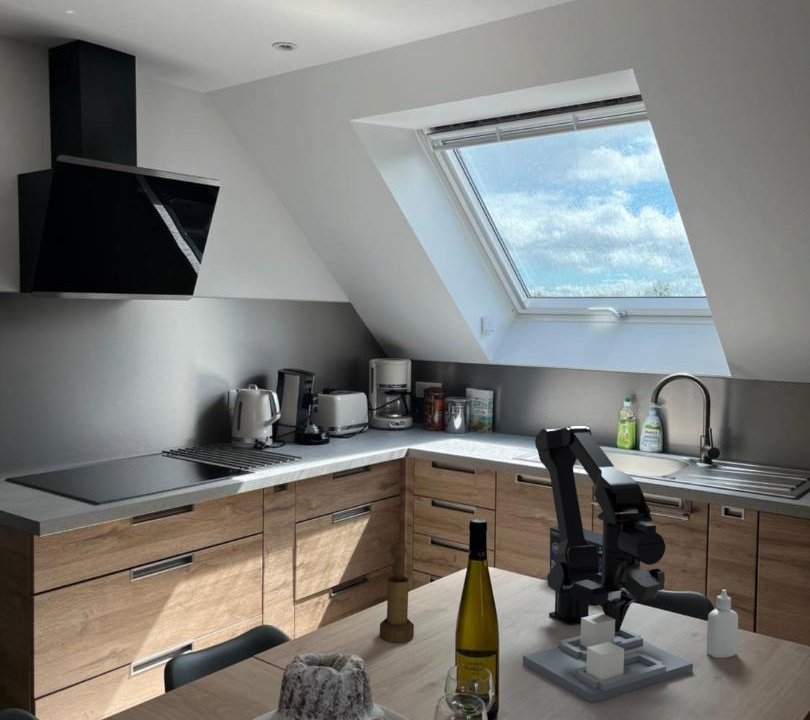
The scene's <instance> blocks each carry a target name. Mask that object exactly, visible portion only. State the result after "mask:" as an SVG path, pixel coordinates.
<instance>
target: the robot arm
mask: <svg viewBox="0 0 810 720" xmlns="http://www.w3.org/2000/svg"><path fill="white" fill-rule="evenodd" d="M534 445H535V449H536V450H537V453H538V457H539V461H540V462H541V463H542V464H543V466H544V467H545V468H546V470H547V471H548V472H549V477H550V478H549V479H550V483H551V490H552V497H553V503H554V508H555V514H556V515H555V516H556V521H557V526H558V529H559V535H560V544H559V547H558V549H557V552H556V554H555V566H554V568H553V569H552V570H551V571H550V570H549V573H548V574H547V576H546V580H547V586H548V587H549V588H550V589H551V590H553V591H554V592H555V593H554V594H555V596H554V598H555V599H554V611H552V612H551V611H550V612H549V613H548V616H549V617H551V618H553V619H556V620H558V621H560V622H561V623H563V624H567V625H568V626H574V625H577V624H581V618H583V617H587V616H590V615H589V612H590V611H589V607H592V606H593V607H597V606H600V607H601V610H602V612H603V614H604V615H606V616H609V617H611V618H613V619H615V633H616V632H619V630H620V628H622V624H623V622H624V620H625V618H626V615H627V613H628V611H629V608H630V605H632V604H633V603H634V602H636V601H638V602H645V601H647V600H649V599H650V600H654V599H655V598H656V597H657V595H658V592H660V591H663V589H665V582H666V579H665V575H666V574H665V571H664V570H663V569H662V568H660V567H659V566H658V567H654V568H651V569H650V570H649V568H643V567H642V566H641V563H643V564H644V565H649V566H650V565H654V564H655V565H656V563H659V561H660V560H662V558H663V557H664V555H665V553H666V543H665V539H664V538H663V536H662V535H661V534H660V533H658V532H657V526H656V525H655V524H653V523H652V521H653V519H652V514H651V513H652V511H651V509H650V507H649V505H648V503H647V500H646V498H645V495H644V492H643V490H642V487H641V486H640V484H639V483H638V482H637V481H636V480H635V479H634V478H633V477H632V476H630V474H627V473H625V472H624V471H621V470H619V469H618V468H616V466H615V465H614V464H613V463H612V461H611V460H610V459H609V457H608V456H607V454H606V453H605V452H604V450H603V449H602V448H601V447H600V445H599V444H598V442H597V441H596V439H595V438H594V437H593V435H592V430H591V429H590V428H589V427H587V426H585V425H576V426H574V425H573V426H572V425H570V426H567V427H564V428H542V429H541V430H540V431H539V433H537V435H536V436H535V439H534ZM577 460H578V462H579V464H580V465H581V466H582V469H583V470H584V471H585V472H586V473H587V475H588V477H589V479H591V481H592V482H593V484H594V493H593V496H594V497H595V499H596V502H597V504H598V505H599V507H600V509H601V511H602V512H600V513H599V514H598V515H597V519H598V520H600V521H602V535H603V541H602V551H600V552H597V549H596V547H595V546H594V545H592V546H590V544H589V543H588V542H587V541H586V539H585V537H584V531H583V528H584V526H583V521H582V514H581V509H580V501H579V495H578V490H577V486H576V479H575V472H574V467H575V463H576V461H577ZM649 522H650V523H649ZM598 558H601V559H602V571H601V573H600V564H599V561H598ZM598 580H600V581H602V584H597V583H598Z"/></svg>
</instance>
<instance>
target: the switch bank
mask: <svg viewBox="0 0 810 720" xmlns="http://www.w3.org/2000/svg"><path fill="white" fill-rule="evenodd" d="M641 636H642V635H641V634H638V633H636V632H634V631H631V630H629V629H627V628H625V627H621V628H620V630H619V632H616V633H615V637H614V643H613V644H615V645H617V646H619V647H621V648H623V649H624V669H623V675H620V676H617V677H614V678H610V679H607V680H604V681H600V680H598V679H597V678H595V677H593V676H591V675H589V674H587V673H586V663H587V648H586V647H584V646H582V645H580V640H581V634H580V635H578V636H573V637H568V638H565V639H561V640H559V641H558V646H554V647H552V648H551V647H550V648H548V649H544V650H540V651H537V652H531V653H528V654H524V655H522V665H524V666H526V667H527V668H529V669H531V670H532V671H535V672H536V673H538V674H540V675H541V676H543V677H545V678H546V679H548V680H551V682H554V683H555V684H557V685H559V686H560V687H563V688H564V689H566V690H568V691H570V692H572V693H573V694H575V695H577V696H578V697H580V698H582V699H584V700H585V701H587V702H589V703H591V704H595V703H597V702H601V701H604V700H606V699H607V700H608V699H610V698H613V697H616V696H619V695H623V694H626V693H630V692H631V691H632V692H633V691H635V690H640V689H642V688H644V687H648V686H651V685H654V684H655V685H656V684H658V683H661V682H664V681H667V680H671V679H674V678H677V677H681V676H683V675H686V674H690V673H693V670H694V668H693V667H694V663H693V662H691V661H689V660H686V659H684V658H682V657H680V656H677V655H675V654H674V653H671V652H669V651H666V650H664V649H662V648H660V647H657V646H656V645H654V644H651V643H649V642H647V641H644V638H643V637H641Z"/></svg>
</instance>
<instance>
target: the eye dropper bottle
mask: <svg viewBox="0 0 810 720" xmlns="http://www.w3.org/2000/svg"><path fill="white" fill-rule="evenodd" d="M731 608H732V598H731V597H730V596H728V593H727V590H726V589H722V590H721V592H720V595H717V596H716V608H714V609H713V610H711V611H710V612H709V613H708V616H707V629H706V630H707V631H706V654H707V655H709V656H710V657H713V658H716V659H725V658H731V657H733V656H736V654H737V653H738V634H739V633H738V632H739V631H738V630H739V629H738V628H739V615H738V613H737V612H736V611H735V610H732V609H731Z"/></svg>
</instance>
